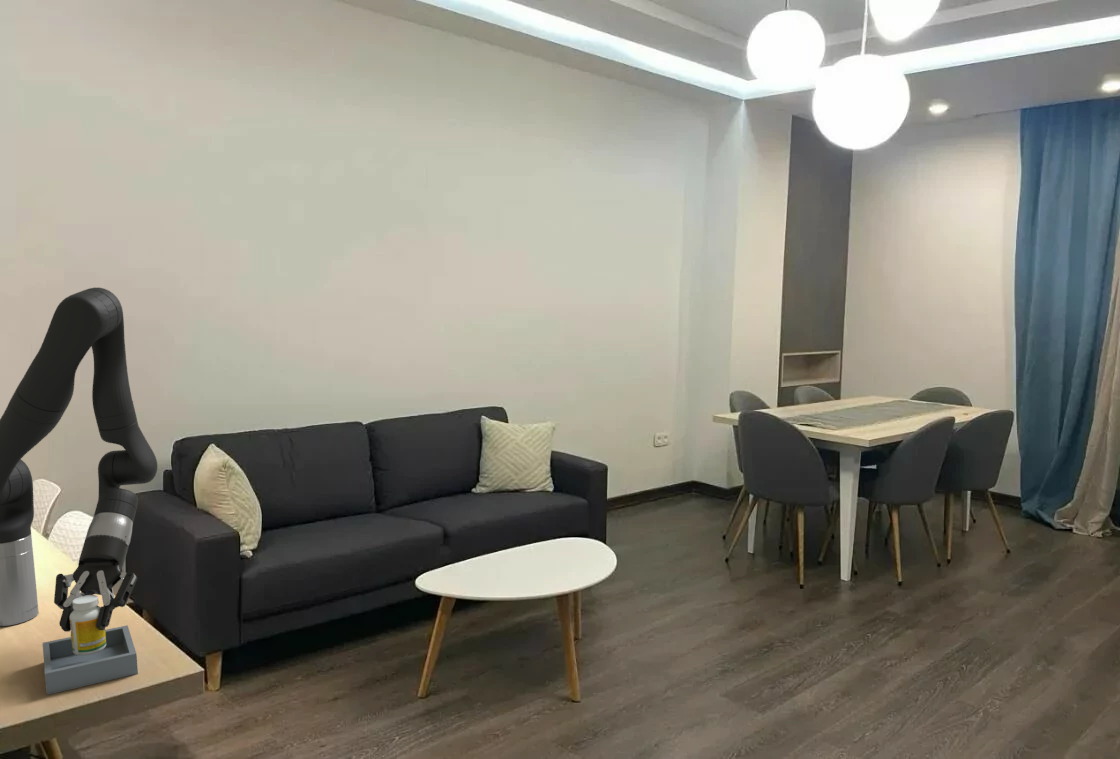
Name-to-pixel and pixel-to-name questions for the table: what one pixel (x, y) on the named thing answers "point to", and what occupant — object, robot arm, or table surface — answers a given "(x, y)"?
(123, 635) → the tray
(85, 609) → the supplement bottle
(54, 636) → the table surface
